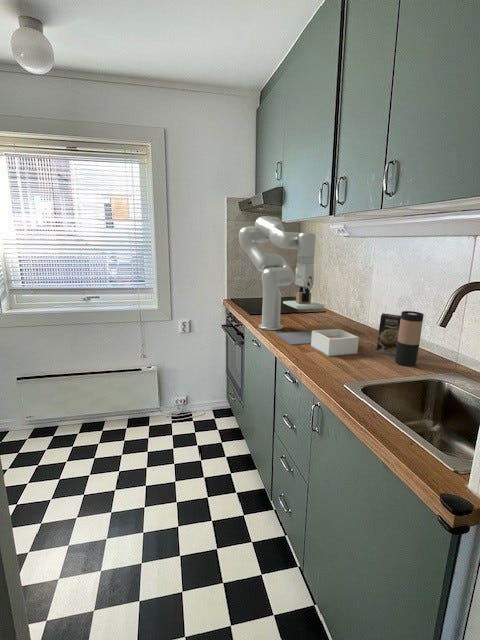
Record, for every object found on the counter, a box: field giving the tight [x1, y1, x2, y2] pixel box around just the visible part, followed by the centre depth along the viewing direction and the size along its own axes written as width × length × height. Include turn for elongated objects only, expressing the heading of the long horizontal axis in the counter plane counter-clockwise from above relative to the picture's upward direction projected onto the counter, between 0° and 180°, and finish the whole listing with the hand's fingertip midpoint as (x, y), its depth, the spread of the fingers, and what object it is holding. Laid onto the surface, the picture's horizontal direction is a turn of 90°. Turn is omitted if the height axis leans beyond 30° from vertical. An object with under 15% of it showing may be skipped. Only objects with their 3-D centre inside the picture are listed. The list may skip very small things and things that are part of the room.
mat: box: [274, 331, 312, 346], centre depth 164 cm, size 18×18×1 cm
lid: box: [282, 291, 325, 310], centre depth 159 cm, size 14×14×7 cm
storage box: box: [310, 328, 360, 357], centre depth 147 cm, size 14×14×7 cm
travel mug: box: [395, 310, 425, 367], centre depth 131 cm, size 8×8×20 cm
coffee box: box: [375, 312, 401, 356], centre depth 144 cm, size 9×6×16 cm
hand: (303, 300), depth 159 cm, fingers closed on lid, 3 cm apart
